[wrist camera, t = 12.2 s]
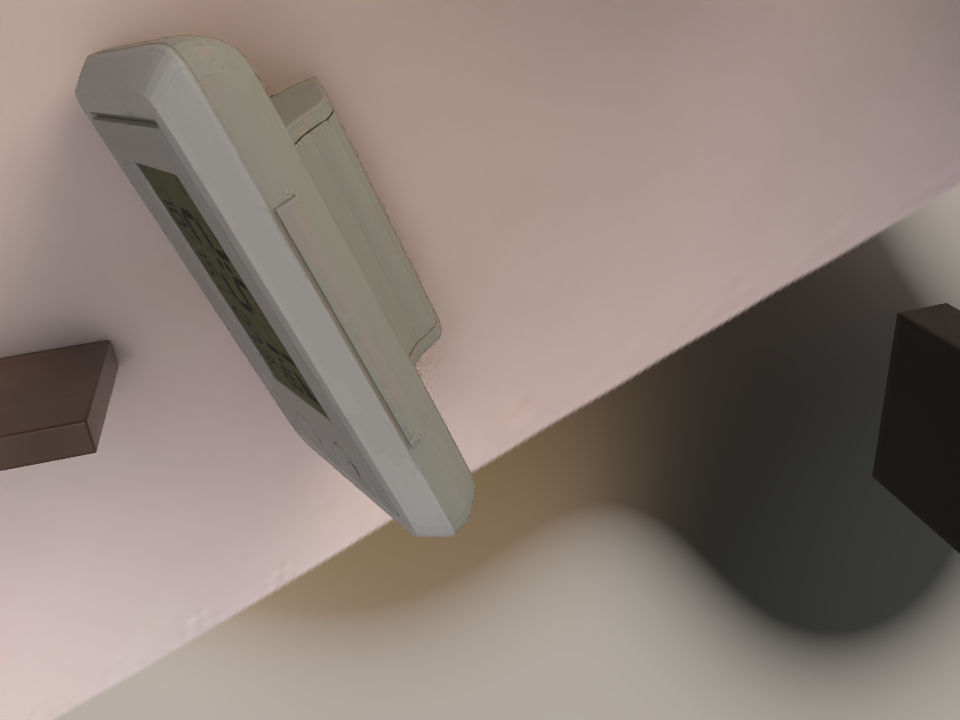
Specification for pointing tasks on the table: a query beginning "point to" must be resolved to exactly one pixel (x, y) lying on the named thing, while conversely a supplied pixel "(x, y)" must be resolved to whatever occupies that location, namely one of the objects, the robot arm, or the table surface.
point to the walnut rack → (54, 403)
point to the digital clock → (289, 259)
